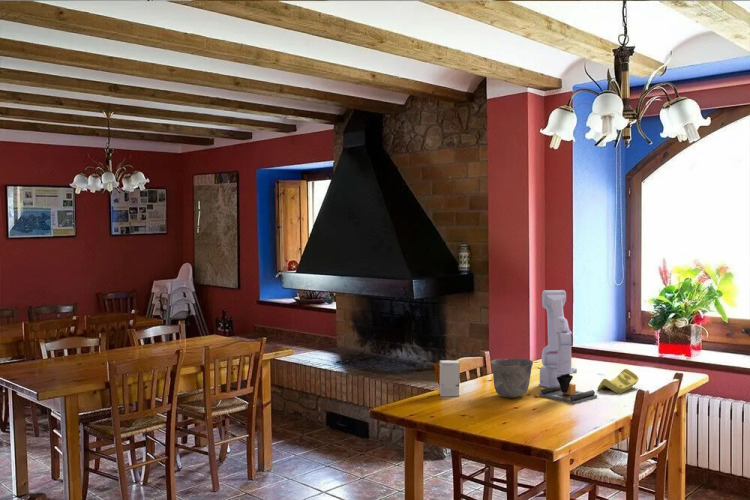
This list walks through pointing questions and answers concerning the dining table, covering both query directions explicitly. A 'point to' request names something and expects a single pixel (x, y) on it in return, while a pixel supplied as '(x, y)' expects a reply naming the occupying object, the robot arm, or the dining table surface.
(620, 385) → the plastic component
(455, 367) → the skincare box
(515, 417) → the dining table surface
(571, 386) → the toggle
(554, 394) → the panel
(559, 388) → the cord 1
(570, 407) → the dining table surface
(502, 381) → the gray stone pot
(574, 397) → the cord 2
